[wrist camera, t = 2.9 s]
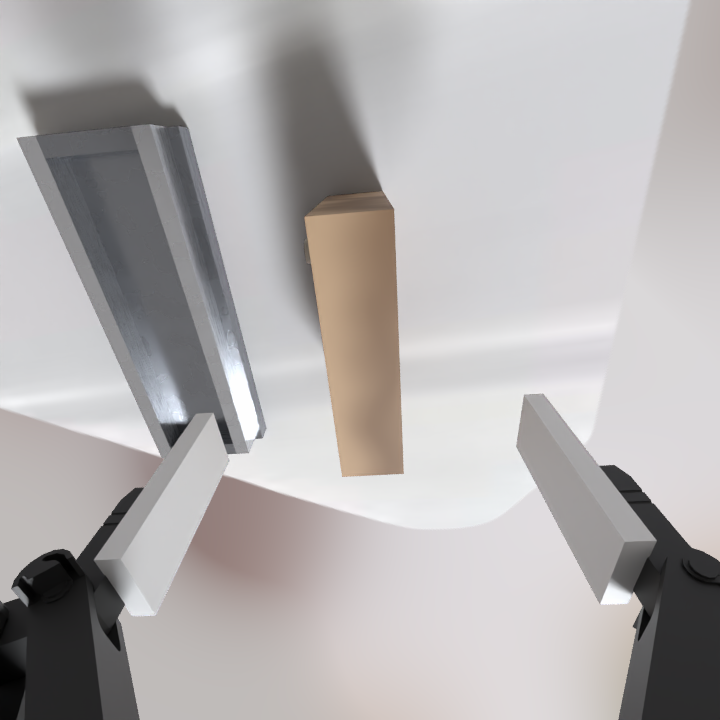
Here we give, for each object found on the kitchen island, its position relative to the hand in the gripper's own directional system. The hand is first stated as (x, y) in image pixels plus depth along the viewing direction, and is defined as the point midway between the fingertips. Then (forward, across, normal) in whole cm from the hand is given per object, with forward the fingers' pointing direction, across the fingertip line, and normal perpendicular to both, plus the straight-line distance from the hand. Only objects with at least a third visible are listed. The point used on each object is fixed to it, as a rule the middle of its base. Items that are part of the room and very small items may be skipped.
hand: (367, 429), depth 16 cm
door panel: (+17, 0, 0) cm, 17 cm away
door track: (+17, -16, 0) cm, 23 cm away
